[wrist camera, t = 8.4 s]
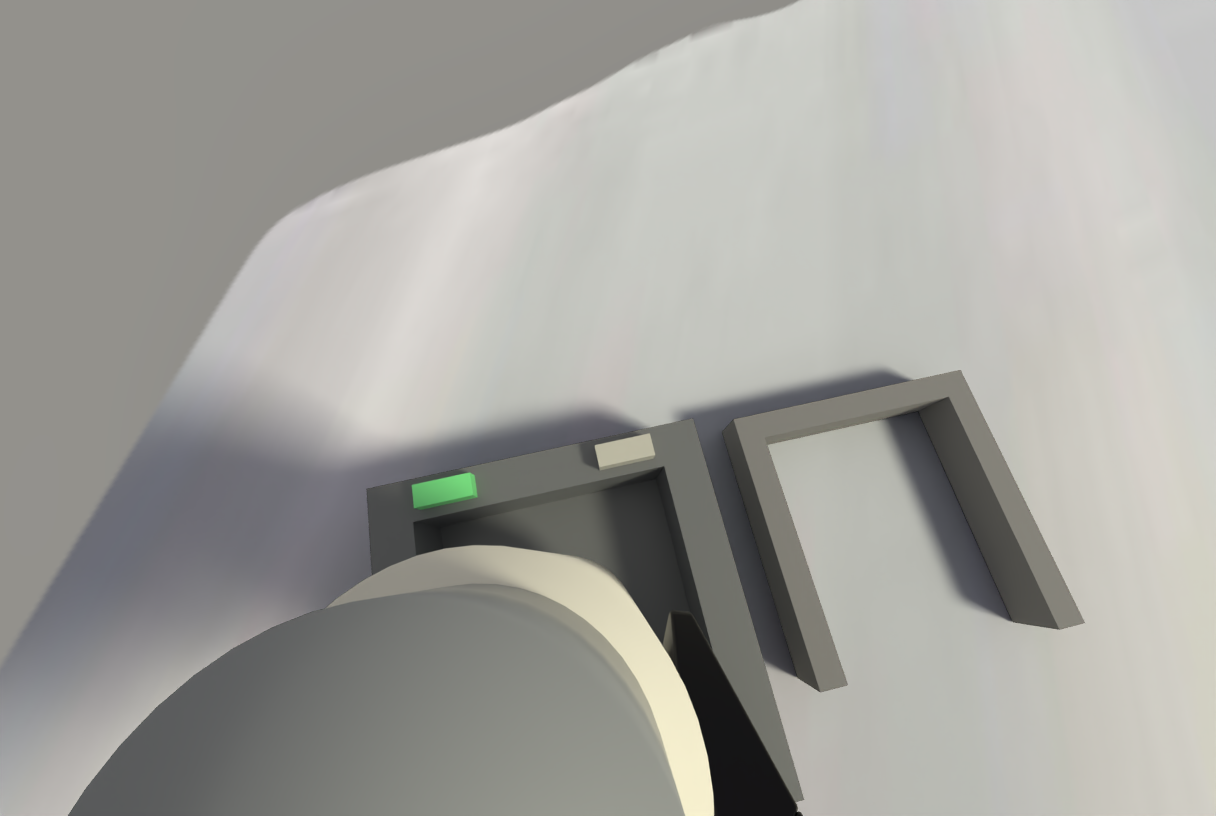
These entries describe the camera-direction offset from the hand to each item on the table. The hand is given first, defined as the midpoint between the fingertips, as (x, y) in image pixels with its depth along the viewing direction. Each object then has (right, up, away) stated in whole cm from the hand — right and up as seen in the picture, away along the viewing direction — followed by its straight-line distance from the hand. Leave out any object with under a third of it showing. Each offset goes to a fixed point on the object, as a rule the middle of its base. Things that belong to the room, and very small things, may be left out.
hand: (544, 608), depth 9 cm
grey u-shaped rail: (+12, -1, +11) cm, 16 cm away
